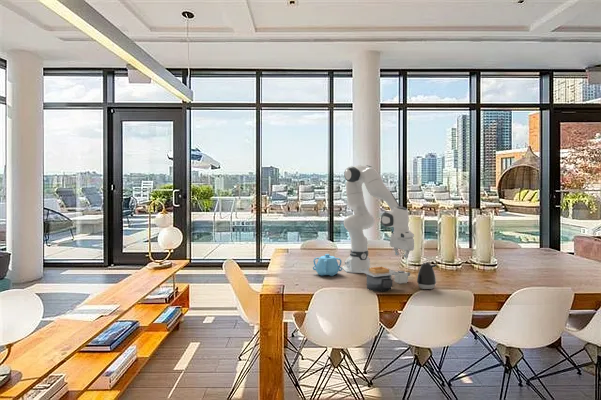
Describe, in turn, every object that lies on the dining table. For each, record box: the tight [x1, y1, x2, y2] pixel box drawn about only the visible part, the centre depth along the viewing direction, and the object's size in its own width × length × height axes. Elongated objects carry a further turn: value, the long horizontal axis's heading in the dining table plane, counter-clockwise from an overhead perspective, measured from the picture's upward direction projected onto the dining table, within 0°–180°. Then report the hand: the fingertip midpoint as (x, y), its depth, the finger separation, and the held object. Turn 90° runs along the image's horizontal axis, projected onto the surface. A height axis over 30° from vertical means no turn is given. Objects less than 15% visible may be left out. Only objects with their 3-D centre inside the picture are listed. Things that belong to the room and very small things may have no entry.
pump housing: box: [394, 270, 411, 284], centre depth 260 cm, size 5×9×7 cm, turn 111°
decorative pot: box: [312, 253, 343, 277], centre depth 282 cm, size 16×16×14 cm
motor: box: [360, 268, 399, 292], centre depth 244 cm, size 18×16×10 cm
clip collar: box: [369, 266, 390, 273], centre depth 245 cm, size 8×9×2 cm
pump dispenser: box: [416, 261, 437, 290], centre depth 243 cm, size 10×10×15 cm
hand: (401, 256), depth 258 cm, fingers open, 8 cm apart
